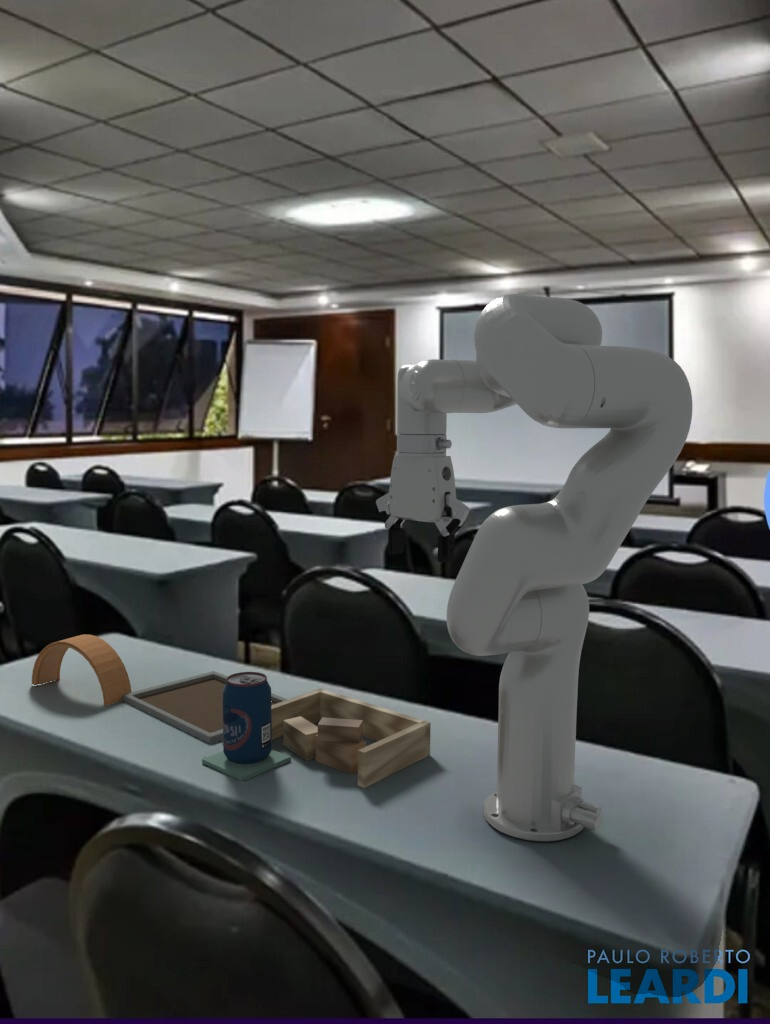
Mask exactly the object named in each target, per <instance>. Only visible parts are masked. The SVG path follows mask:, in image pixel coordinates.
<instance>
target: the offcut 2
mask: <svg viewBox="0 0 770 1024" xmlns="http://www.w3.org/2000/svg"><path fill="white" fill-rule="evenodd" d="M366 745H367V742H366V740H363V739H361V740H360V742H359V744H357V743H344V742H330V741H318V735H316V758H315V762H317V763H320V764H323V765H326V766H329V767H331V768H333V769H336V770H339V771H342V772H344V773H346V774H347V773H348V774H351V775H353V774H355V773H358V750H360V749H362V748H364V747H366Z"/></svg>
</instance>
